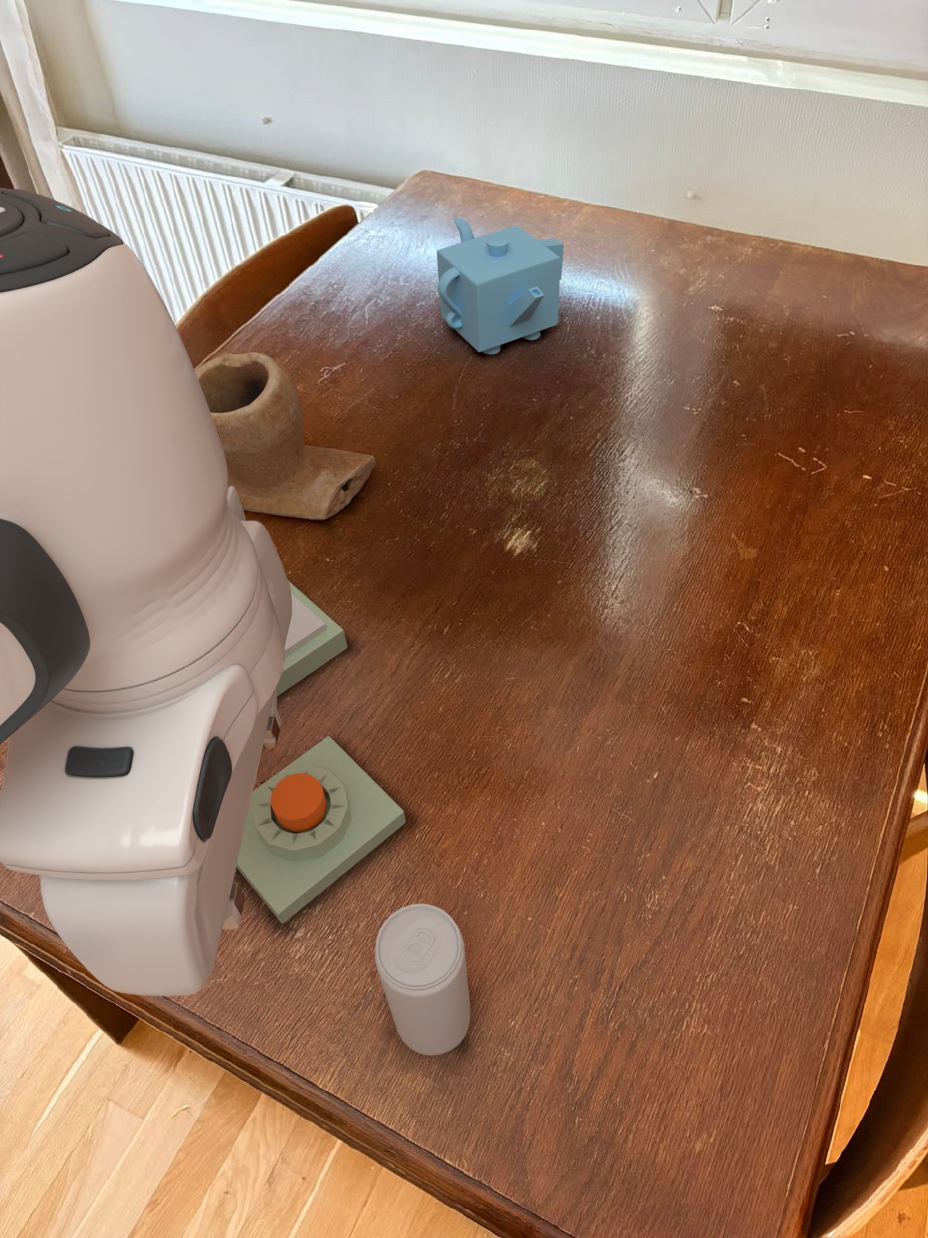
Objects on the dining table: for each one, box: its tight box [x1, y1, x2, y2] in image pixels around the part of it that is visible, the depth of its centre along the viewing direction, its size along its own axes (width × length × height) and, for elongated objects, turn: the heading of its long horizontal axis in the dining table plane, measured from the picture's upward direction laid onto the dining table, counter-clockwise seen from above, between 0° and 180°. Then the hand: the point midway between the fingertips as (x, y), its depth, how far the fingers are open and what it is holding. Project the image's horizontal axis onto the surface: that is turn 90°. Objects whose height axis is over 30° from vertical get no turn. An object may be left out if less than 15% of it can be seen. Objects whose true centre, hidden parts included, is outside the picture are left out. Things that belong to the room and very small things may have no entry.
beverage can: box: [374, 903, 471, 1057], centre depth 52 cm, size 5×5×12 cm
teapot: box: [436, 217, 565, 355], centre depth 103 cm, size 16×18×11 cm
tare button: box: [271, 774, 327, 832], centre depth 62 cm, size 4×4×2 cm
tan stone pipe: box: [194, 351, 376, 521], centre depth 83 cm, size 15×12×15 cm
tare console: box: [236, 735, 407, 925], centre depth 64 cm, size 11×9×4 cm
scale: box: [276, 581, 348, 697], centre depth 75 cm, size 15×15×3 cm
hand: (246, 819), depth 44 cm, fingers open, 8 cm apart
